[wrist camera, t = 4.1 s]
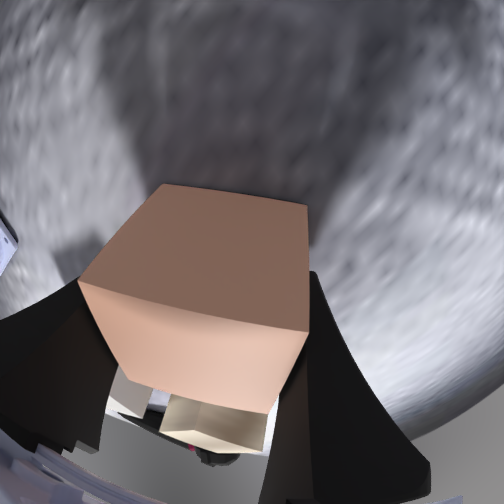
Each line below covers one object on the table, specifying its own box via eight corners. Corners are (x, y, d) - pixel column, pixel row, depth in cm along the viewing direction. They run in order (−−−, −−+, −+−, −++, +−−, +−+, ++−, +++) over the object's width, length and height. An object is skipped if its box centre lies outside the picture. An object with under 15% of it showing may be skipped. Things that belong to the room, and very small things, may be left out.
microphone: (123, 386, 33) (252, 427, 27) (114, 420, 30) (242, 469, 24) (98, 377, 29) (238, 427, 22) (88, 414, 26) (226, 477, 19)
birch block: (177, 374, 19) (158, 431, 15) (214, 357, 16) (194, 429, 12) (229, 399, 20) (217, 453, 16) (271, 387, 18) (262, 451, 14)
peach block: (172, 285, 12) (128, 379, 8) (162, 183, 9) (77, 280, 5) (281, 306, 12) (268, 414, 8) (306, 205, 9) (309, 332, 5)
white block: (78, 308, 16) (43, 364, 12) (123, 304, 14) (84, 376, 10) (118, 351, 19) (93, 404, 15) (166, 354, 17) (142, 418, 13)
